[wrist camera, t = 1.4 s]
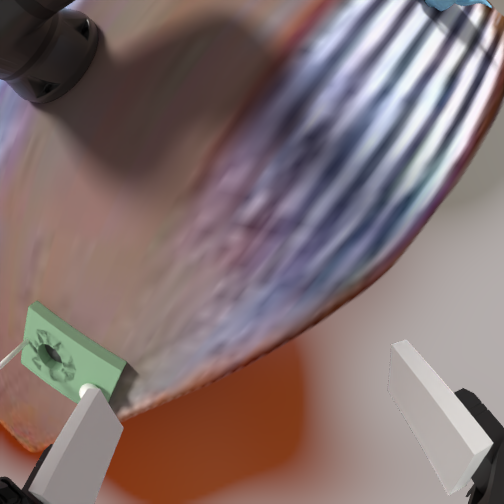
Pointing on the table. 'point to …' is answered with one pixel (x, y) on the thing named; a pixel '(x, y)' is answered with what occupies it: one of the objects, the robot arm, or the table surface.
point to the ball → (85, 387)
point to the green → (65, 355)
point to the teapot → (445, 0)
